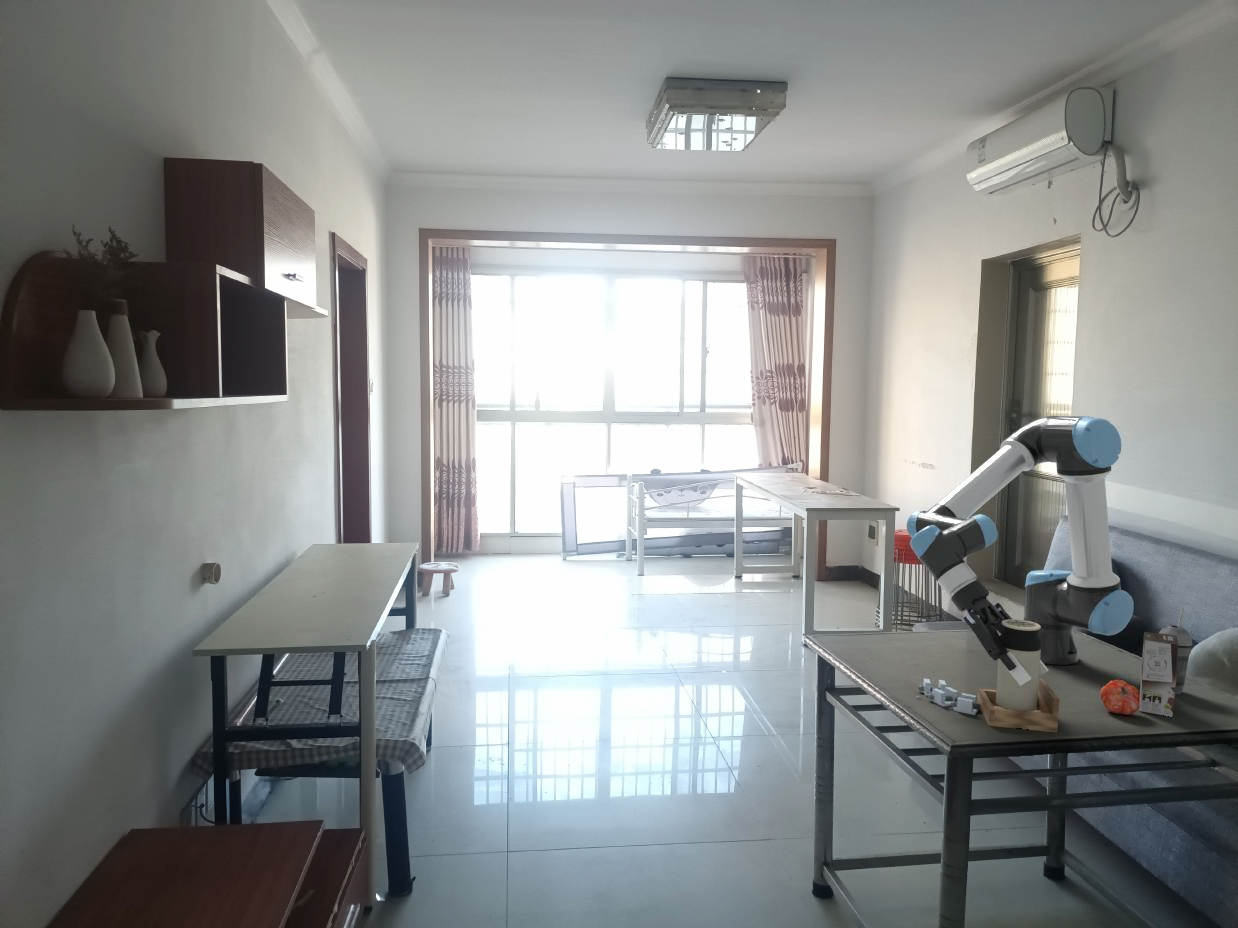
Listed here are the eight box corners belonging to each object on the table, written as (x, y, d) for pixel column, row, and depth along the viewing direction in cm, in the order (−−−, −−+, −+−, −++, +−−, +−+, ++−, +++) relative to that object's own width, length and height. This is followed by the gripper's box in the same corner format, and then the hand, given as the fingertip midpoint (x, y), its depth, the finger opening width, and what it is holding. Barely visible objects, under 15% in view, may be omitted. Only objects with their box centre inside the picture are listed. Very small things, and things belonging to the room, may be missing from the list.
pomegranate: (1095, 715, 188) (1098, 699, 181) (1102, 685, 191) (1105, 668, 184) (1134, 726, 184) (1139, 710, 177) (1140, 695, 187) (1144, 678, 180)
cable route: (971, 693, 194) (972, 681, 194) (983, 715, 180) (983, 702, 180) (916, 688, 197) (917, 676, 196) (924, 709, 183) (924, 697, 183)
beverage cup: (1150, 683, 204) (1156, 602, 202) (1186, 688, 200) (1192, 606, 199) (1154, 692, 197) (1160, 608, 195) (1191, 698, 194) (1198, 612, 192)
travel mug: (1042, 714, 175) (1047, 629, 173) (1001, 711, 176) (1006, 627, 175) (1030, 701, 183) (1035, 619, 181) (991, 698, 184) (995, 617, 183)
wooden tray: (1040, 709, 184) (1042, 678, 184) (1057, 732, 172) (1059, 698, 171) (977, 703, 187) (979, 673, 187) (988, 725, 175) (990, 692, 174)
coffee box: (1173, 717, 181) (1179, 644, 180) (1138, 711, 185) (1143, 639, 183) (1172, 705, 189) (1177, 634, 188) (1139, 699, 192) (1143, 630, 191)
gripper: (973, 591, 196) (1041, 676, 185) (928, 604, 182) (999, 697, 172) (997, 572, 192) (1068, 659, 181) (953, 584, 178) (1027, 679, 167)
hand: (1034, 677), depth 176 cm, fingers closed on travel mug, 8 cm apart
